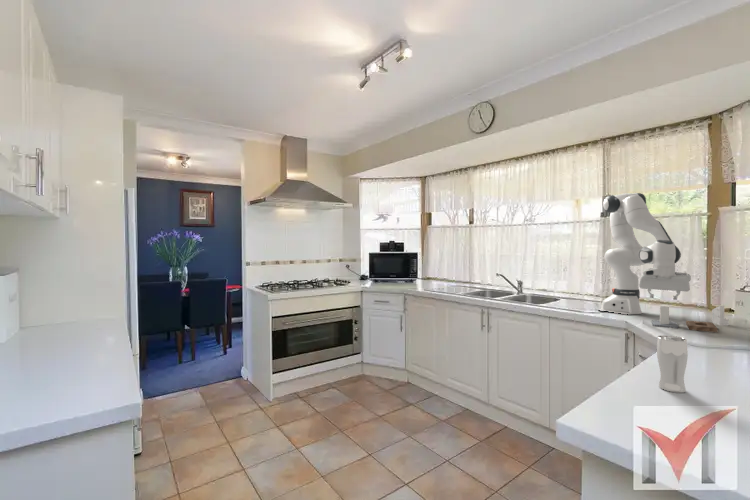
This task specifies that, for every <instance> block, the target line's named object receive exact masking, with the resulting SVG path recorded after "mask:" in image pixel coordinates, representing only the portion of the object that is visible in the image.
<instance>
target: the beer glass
mask: <svg viewBox="0 0 750 500" xmlns="http://www.w3.org/2000/svg"><path fill="white" fill-rule="evenodd" d="M656 341H657V343H656V357H657V362H658V366H659V372H660V379H659V383H658V387H659V389H661V390H663V389H664V390H663V391H665V390H667V391H666V392H669V391H670V392H669V393H674V392H675V394H685V393H686V391H687V389H686V386H685V374H686V373H685V372H686V368H687V365H688V358H689V357H688V355H689V353H688V351H689V350H688V344H687V341H688V340H687V339H686V338H684V337H681V336H675V335H665V334H664V335H662V334H661V335H658V336H657V340H656Z"/></svg>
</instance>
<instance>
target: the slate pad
mask: <svg viewBox="0 0 750 500" xmlns="http://www.w3.org/2000/svg"><path fill="white" fill-rule="evenodd" d="M651 325H652V327H660V328H661V327H662V328H669V327H671V329H673V328H674V329H679V326H678V323H677V322H676V321H669V325H668V324H660V320H653V319H652V320H651Z"/></svg>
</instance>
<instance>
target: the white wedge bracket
mask: <svg viewBox="0 0 750 500" xmlns="http://www.w3.org/2000/svg"><path fill="white" fill-rule="evenodd" d="M711 322H712V323H713V324H714V325H716V326H730V320H729V318H725V305H718V306H717V307H715V308H713V309H711Z"/></svg>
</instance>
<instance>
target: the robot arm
mask: <svg viewBox="0 0 750 500" xmlns="http://www.w3.org/2000/svg"><path fill="white" fill-rule="evenodd" d="M602 208H603V210H604V211H605V212H606V213H609V226H610V231H611V236H612V240H613V241H614V243H617V244H618V245H619V246H620V247H615V248H610V249H607V251H606V252H604V256H603V257H604V261H605V264H607V265H609V266H610V268H612V270H613V272H614V275H615V283H616V285H615V287H616V288H614V287H613V288H612V289H611V292H612V294H610V295H609V296H608V297H606V298H604V299H603V300H602V303H601V306H600V307H601V309H602V310H607V311H609V312H614V313H613V314H618V313H621V314H620V315H627V314H628V316H629V315H640V314H643V311H642V309H641V304H640V303H641V302H640V298H641V293H640V289H643V290H647V292H648V294H649V298H650V299H654V296H655V295H654V293H652V290H655V291H656V290H657V291H659V290H661V291H673V292H674V291H675V292H676V294H675V295H673V298H672V299H673V300H676V301H677V300H678V296H679V295H680V294H681V292H689V291H690V286H691V285H690V282H691V280H692V278H691V276H692V275H690V274H689V273H687V272H679V271H678V272H676V264H677V262H679V261H680V259H681V256H682V253H681V251H680V249H679V248H678V247H677V246H676V244H675V243H674V241H673V240H672V239H671V237H670V235H669V234H668V232H667V230H666V228H665V226H663V224H662V222H661V221H659V220H658V219H656V218H655V217H654V216H653V215H652V214H651V212H650V211H649V208H648V206H647V198H646V196H645V194H643V193H640V192H633V193H632V192H631V193H630V192H629V193H628V192H627V193H620V194H615V195H613V194H611V195H608V196H605V197H604V199H603V201H602ZM634 229H636V230H640V231H644V232H647V233H649V234H650V235H652V236H653V237H654V239H656V240H655V241H654V242H653V243H652V244H649V245H647V246H642V245H641V244H640V243H639V242H638V240H637V238H636V236H635V233H634ZM646 264H647V265H650V264H651V265H653V267H652V268H645V269H644V270H642V275H641V276H640V277H639V276H638V274H637V273H636V272H635V273H634V272H633V271H632V269H631V267H635V266H637V267H638V266H643V265H646ZM639 278H640V279H639ZM639 288H640V289H639Z"/></svg>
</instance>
